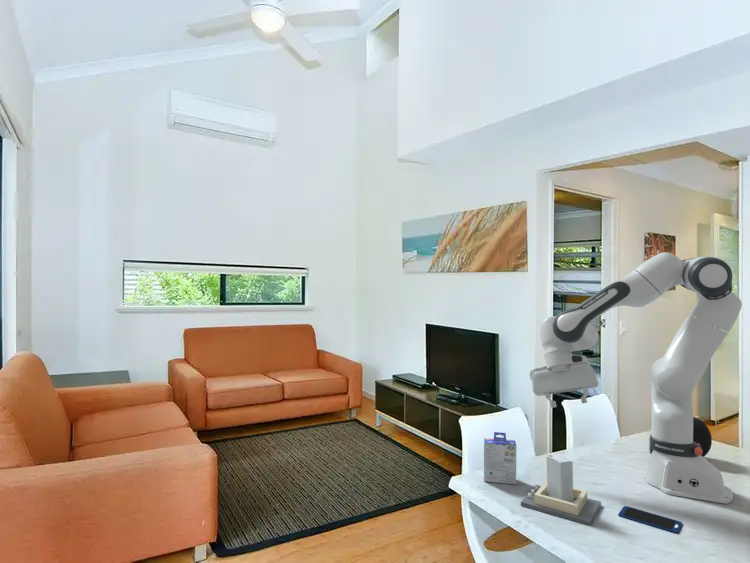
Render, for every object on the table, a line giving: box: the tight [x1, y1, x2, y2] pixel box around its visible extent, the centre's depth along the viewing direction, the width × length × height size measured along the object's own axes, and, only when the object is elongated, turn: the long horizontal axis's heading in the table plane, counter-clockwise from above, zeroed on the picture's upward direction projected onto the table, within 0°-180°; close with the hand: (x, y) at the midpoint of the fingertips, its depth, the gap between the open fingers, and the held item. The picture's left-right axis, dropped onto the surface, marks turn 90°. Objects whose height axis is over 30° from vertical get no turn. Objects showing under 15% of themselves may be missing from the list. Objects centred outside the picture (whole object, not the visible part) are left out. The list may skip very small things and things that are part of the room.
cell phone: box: [618, 505, 683, 535], centre depth 124 cm, size 7×14×1 cm, turn 49°
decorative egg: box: [693, 416, 713, 458], centre depth 169 cm, size 12×12×15 cm
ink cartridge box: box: [483, 431, 517, 485], centre depth 148 cm, size 10×6×14 cm, turn 78°
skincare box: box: [546, 453, 574, 503], centre depth 132 cm, size 6×4×12 cm
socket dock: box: [520, 480, 602, 526], centre depth 132 cm, size 18×14×4 cm
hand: (569, 405), depth 150 cm, fingers open, 8 cm apart
